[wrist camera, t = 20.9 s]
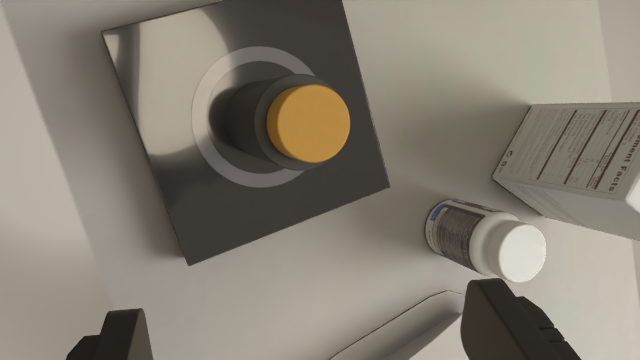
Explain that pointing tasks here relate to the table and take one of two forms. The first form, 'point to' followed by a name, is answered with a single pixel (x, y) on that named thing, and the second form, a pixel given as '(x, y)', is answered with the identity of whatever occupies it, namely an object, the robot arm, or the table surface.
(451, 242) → the pill bottle
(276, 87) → the spice bottle
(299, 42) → the hob
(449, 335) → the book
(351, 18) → the table surface
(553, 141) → the white packaging box
